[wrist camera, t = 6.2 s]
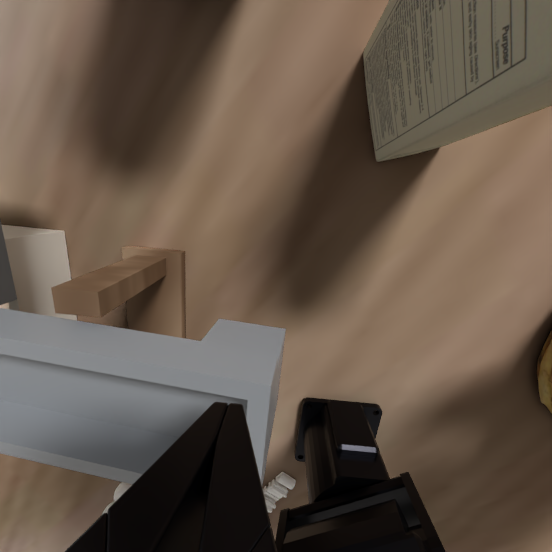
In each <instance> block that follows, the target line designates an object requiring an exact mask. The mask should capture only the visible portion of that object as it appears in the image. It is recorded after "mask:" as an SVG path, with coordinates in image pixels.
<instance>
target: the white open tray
mask: <svg viewBox="0 0 552 552" xmlns="http://www.w3.org/2000/svg"><path fill="white" fill-rule="evenodd" d="M2 230H3V234H4V239H5V244H6V248H7V253H8V258H9V263H10V267H11V272H12V277H13V282H14V286H15V291H16V296H17V300H15V301H12V302H9V303H6V304H3V305H0V308H3V309H9V310H15V311H21V312H28V313H34V314H40V315H46V316H52V317H58V318H64V319H70V320H76V321H77V316H76V315H68V314H58V313H55V308H54V302H53V297H52V291H51V287H54V286H57V285H59V284H62V283H64V282H67V281H70V280H71V274H70V267H69V260H68V253H67V246H66V239H65V232H64V231H61V230H51V229H41V228H30V227H20V226H10V225H2Z"/></svg>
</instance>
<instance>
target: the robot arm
mask: <svg viewBox="0 0 552 552" xmlns="http://www.w3.org/2000/svg"><path fill="white" fill-rule="evenodd" d="M307 404H310V405H307ZM375 410H377V411H375ZM381 416H382V410H381V408H380V406H379V405H377V404H369V403H359V402H349V401H338V400H328V399H317V398H305V399H304V400H303V402H302V408H301V415H300V421H299V428H298V434H297V441H296V447H295V459H296V460H297V461H302V462H305V463H306V475H307V486H308V497H309V504H307V505H303V506H300V507H297V508H294V509H289V508H287V509H284V510H281V512H280V517H279V523H278V529H277V534H276V540H274V536H273V531H272V528H271V527H270V526H271V524H270V519H269V515H268V511H267V506H266V502H265V498H264V493H263V489H262V485H261V480H260V476H259V472H258V467H257V463H256V459H255V455H254V450H253V446H252V442H251V437H250V433H249V429H248V424H247V420H246V416H245V411H244V407H243V405H242V404H239V403H230V404H229V405H228V403H226V402H214V403H213V404H212V405H211V406H210V407H209V408H208V409H207V410H206V411H205V412H204V413H203V414H202V415H201V416H200V417H199V418H198V419H197V420H196V421H195V422H194V423H193V424H192V425H191V426H190V427H189V428H188V429H187V430H186V431H185V432H184V433H183V434H182V435H181V436H180V437H179V438H178V439H177V440H176V441H175V442H174V443H173V444H172V445H171V446H170V447H169V448H168V449H167V450H166V451H165V452H164V453H163V454H162V455H161V456H160V457H159V458H158V459H157V460H156V461H155V462H154V463H153V464H152V465H151V466H150V467H149V468H148V469H147V470H146V471H145V472H144V473H143V474H142V475H141V476H140V477H139V478H138V479H137V480H136V481H135V482H134V483H133V484H132V485H131V486H130V487H129V488H128V489H127V490H126V491H125V492H124V493H123V494H122V496H121V497H120V498H119V499H118V500H117V501H116V502H115V503H114V504H113V505H112V506H111V507H110V508H109V509H108V511H107V513H103V514H102V515H101V516H100V518H99V519H98V520H97V521H96V522H95V523H94V524H93V525H92V526H91V527H90V528H89V529H88V530H87V531H86V532H85V533H84V534H83V535H81V536H80V537H79V538H78V539H77V540H76V541H75V542H74V543H73V544H72V545H71V546H70V547H69V548H68V549H67V550H66V551H65V552H445V550H444V547H443V545H442V543H441V541H440V539H439V537H438V534H437V532H436V530H435V528H434V526H433V524H432V522H431V519H430V517H429V515H428V513H427V511H426V509H425V507H424V504H423V502H422V500H421V498H420V496H419V494H418V492H417V489H416V487H415V485H414V483H413V481H412V479H411V477H410V474H409V472H405V473H402V474H400V476H399V477H396V478H392V479H390V478H389V475H388V472H387V470H386V467H385V465H384V462H383V459H382V457H381V454H380V452H379V448H378V445H377V443H376V440H375V438H376V434H377V430H378V427H379V423H380V419H381Z"/></svg>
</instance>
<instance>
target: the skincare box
mask: <svg viewBox="0 0 552 552" xmlns="http://www.w3.org/2000/svg"><path fill="white" fill-rule="evenodd" d="M363 59H364V71H365V81H366V90H367V99H368V107H369V115H370V123H371V130H372V137H373V144H374V150H375V157H376V161H378V162H380V161H385V160H390V159H395V158H399V157H404V156H408V155H413V154H417V153H421V152H425V151H428V150H432V149H435V148H439V147H442V146H445V145H448V144H450V143H453V142H456V141H458V140H461V139H464V138H466V137H469V136H472V135H475V134H477V133H480V132H483V131H485V130H488V129H490V128H493V127H496V126H498V125H501V124H504V123H506V122H509V121H512V120H514V119H517V118H520V117H522V116H525V115H528V114H530V113H533V112H536V111H538V110H541V109H544V108H546V107H549V106H552V0H389V2H388V4H387V6H386V8H385V10H384V12H383V14H382V16H381V18H380V20H379V22H378V24H377V26H376V28H375V30H374V31H373V33H372V36H371V38H370V40H369V41H368V43H367V45H366V47H365V49H364V52H363Z"/></svg>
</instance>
